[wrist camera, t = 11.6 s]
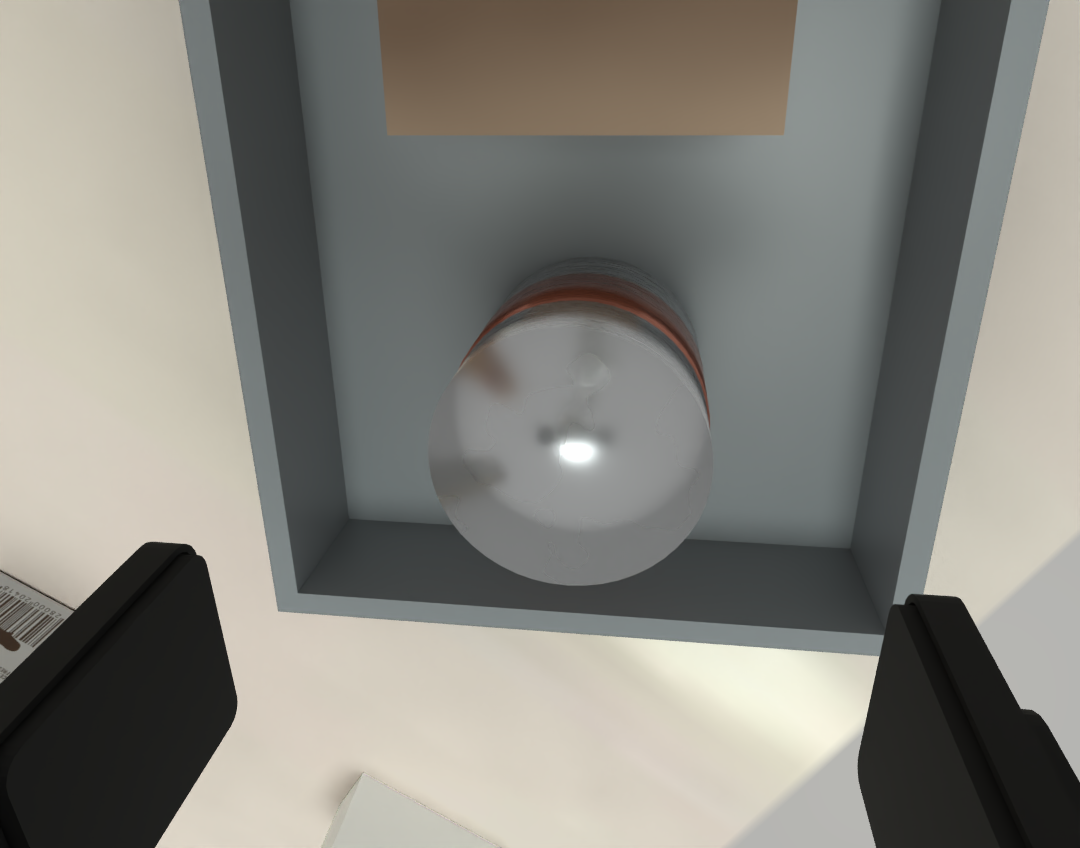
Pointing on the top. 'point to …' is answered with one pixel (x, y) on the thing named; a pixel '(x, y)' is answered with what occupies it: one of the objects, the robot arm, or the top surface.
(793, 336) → the crate
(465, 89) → the brown block
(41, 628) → the coffee box
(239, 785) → the top surface
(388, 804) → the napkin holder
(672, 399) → the can
